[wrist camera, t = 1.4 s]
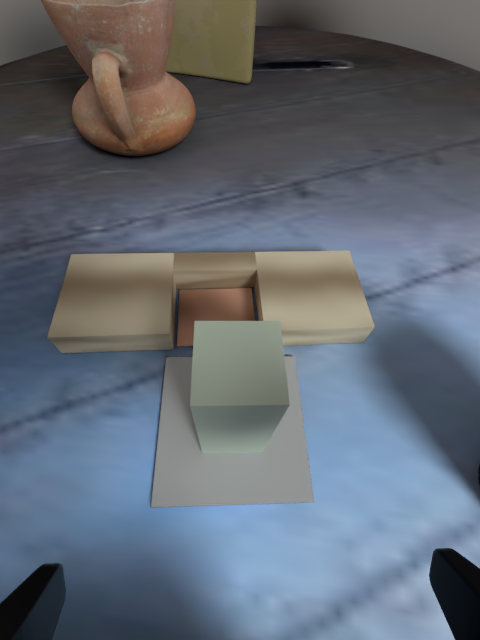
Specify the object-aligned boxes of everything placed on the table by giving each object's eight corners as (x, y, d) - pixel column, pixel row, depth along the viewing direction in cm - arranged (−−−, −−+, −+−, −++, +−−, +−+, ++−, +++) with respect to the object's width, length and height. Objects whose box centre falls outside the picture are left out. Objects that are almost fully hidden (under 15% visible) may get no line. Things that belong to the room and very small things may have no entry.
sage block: (262, 451, 21) (289, 404, 13) (202, 453, 21) (189, 406, 13) (259, 393, 24) (280, 320, 15) (204, 394, 23) (194, 320, 15)
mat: (312, 502, 20) (314, 502, 20) (151, 507, 20) (150, 507, 19) (294, 358, 26) (294, 356, 25) (166, 358, 25) (166, 357, 25)
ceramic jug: (100, 101, 46) (54, -47, 34) (201, 105, 46) (192, -40, 34) (63, 180, 37) (-17, 15, 24) (191, 185, 37) (174, 24, 25)
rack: (362, 342, 27) (375, 327, 25) (62, 353, 25) (47, 337, 23) (340, 269, 31) (349, 250, 29) (82, 273, 29) (71, 254, 27)
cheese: (109, 77, 50) (72, -73, 38) (124, 52, 56) (95, -87, 43) (251, 87, 51) (261, -58, 38) (252, 62, 56) (261, -73, 43)
